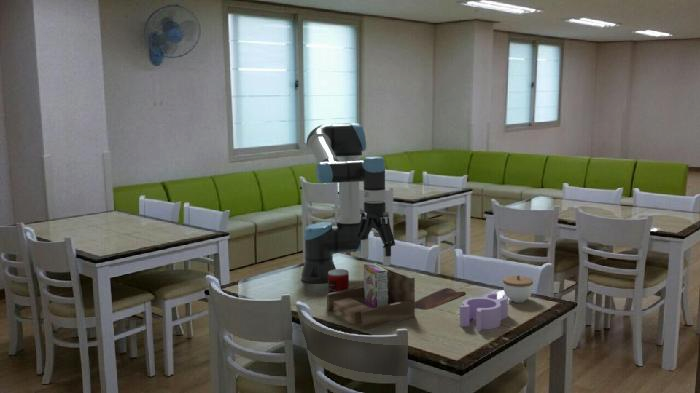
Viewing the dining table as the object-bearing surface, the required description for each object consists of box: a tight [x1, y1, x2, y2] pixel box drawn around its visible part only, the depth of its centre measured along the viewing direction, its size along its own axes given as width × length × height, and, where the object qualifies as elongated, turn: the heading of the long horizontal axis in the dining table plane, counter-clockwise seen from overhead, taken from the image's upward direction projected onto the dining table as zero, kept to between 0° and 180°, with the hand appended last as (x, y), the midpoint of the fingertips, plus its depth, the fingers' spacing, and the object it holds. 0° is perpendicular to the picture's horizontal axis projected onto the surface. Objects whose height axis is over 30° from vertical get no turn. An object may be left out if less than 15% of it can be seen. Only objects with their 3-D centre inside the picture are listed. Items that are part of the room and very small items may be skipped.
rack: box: [326, 262, 416, 330], centre depth 225 cm, size 24×21×14 cm
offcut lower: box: [333, 309, 361, 326], centre depth 222 cm, size 14×7×2 cm, turn 31°
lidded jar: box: [502, 274, 534, 303], centre depth 236 cm, size 11×11×9 cm
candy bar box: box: [363, 262, 388, 308], centre depth 226 cm, size 11×5×16 cm, turn 22°
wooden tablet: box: [415, 287, 467, 311], centre depth 240 cm, size 26×2×10 cm
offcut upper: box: [333, 298, 371, 320], centre depth 222 cm, size 14×7×2 cm, turn 32°
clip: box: [459, 292, 509, 332], centre depth 216 cm, size 20×12×7 cm, turn 137°
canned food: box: [327, 268, 350, 293], centre depth 241 cm, size 8×8×11 cm
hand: (375, 261), depth 224 cm, fingers open, 13 cm apart
